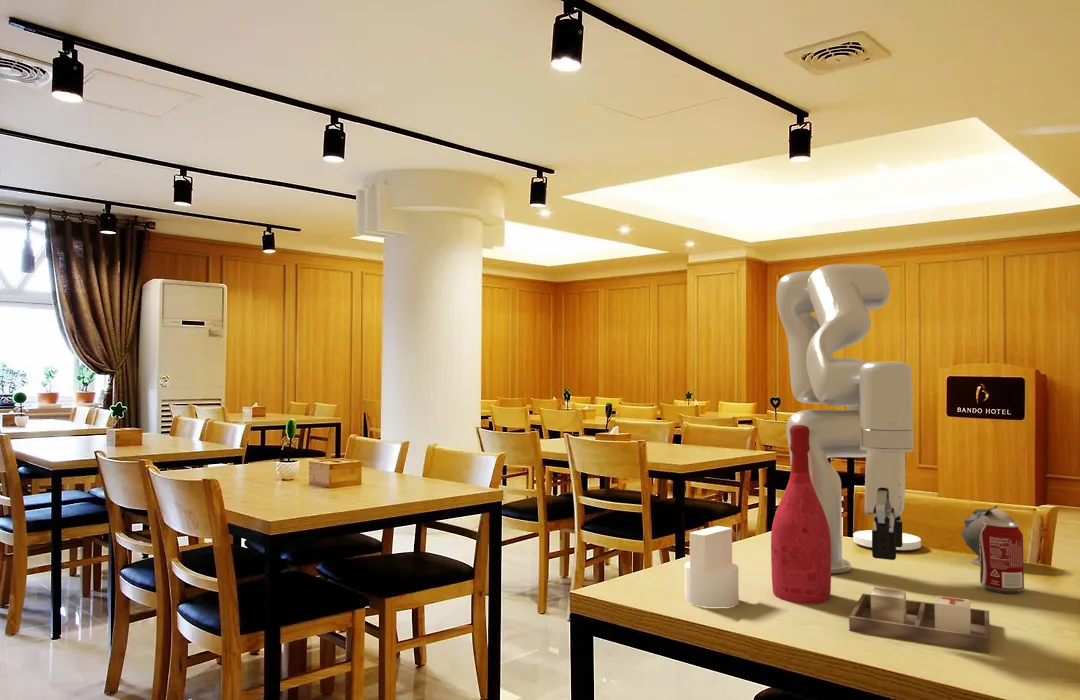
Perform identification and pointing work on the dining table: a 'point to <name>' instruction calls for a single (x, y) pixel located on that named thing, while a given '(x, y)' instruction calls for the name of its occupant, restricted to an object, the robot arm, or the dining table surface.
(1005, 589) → the soda can
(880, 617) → the plain cube
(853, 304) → the robot arm
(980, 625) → the organiser
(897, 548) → the plastic lid
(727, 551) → the cylinder with rectangular tab
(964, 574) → the dining table surface
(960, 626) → the letter cube
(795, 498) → the wine bottle
